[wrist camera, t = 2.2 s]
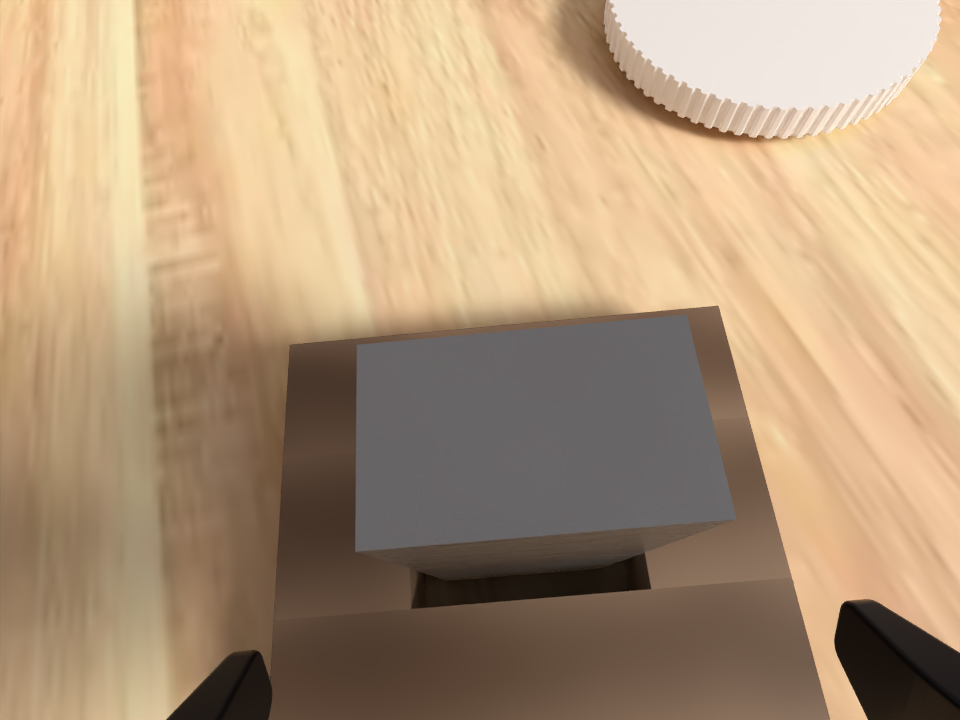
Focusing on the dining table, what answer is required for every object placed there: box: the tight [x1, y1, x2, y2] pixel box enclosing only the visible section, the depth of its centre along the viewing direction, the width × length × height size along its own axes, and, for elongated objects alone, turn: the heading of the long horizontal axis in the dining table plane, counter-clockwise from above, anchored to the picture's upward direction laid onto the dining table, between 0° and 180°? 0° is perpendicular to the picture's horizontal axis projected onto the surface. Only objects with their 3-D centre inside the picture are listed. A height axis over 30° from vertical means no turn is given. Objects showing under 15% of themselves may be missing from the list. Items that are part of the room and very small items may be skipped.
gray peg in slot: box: [355, 315, 736, 581], centre depth 14 cm, size 3×5×12 cm, turn 94°
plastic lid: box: [604, 0, 942, 139], centre depth 26 cm, size 14×14×2 cm
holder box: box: [269, 306, 830, 720], centre depth 18 cm, size 12×14×3 cm
